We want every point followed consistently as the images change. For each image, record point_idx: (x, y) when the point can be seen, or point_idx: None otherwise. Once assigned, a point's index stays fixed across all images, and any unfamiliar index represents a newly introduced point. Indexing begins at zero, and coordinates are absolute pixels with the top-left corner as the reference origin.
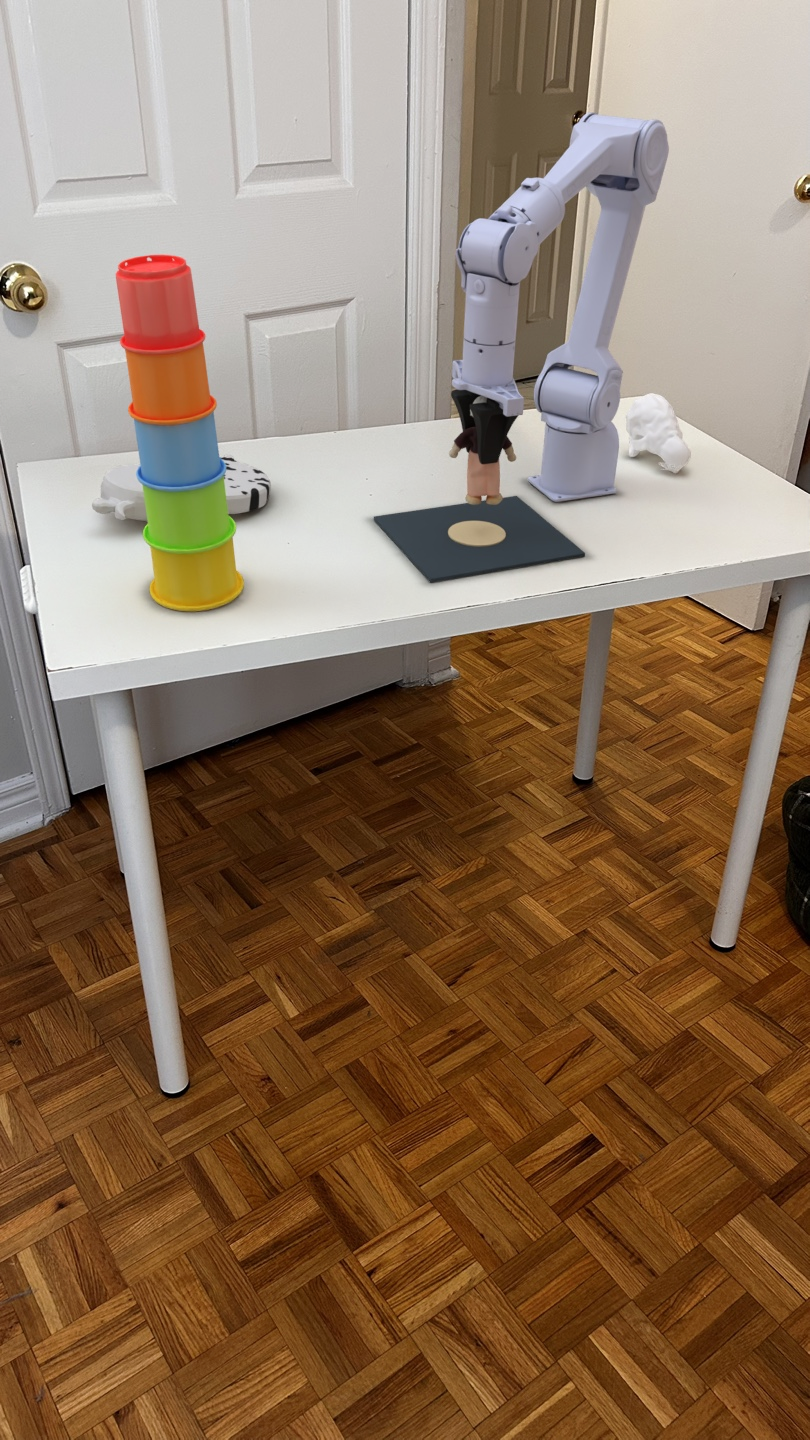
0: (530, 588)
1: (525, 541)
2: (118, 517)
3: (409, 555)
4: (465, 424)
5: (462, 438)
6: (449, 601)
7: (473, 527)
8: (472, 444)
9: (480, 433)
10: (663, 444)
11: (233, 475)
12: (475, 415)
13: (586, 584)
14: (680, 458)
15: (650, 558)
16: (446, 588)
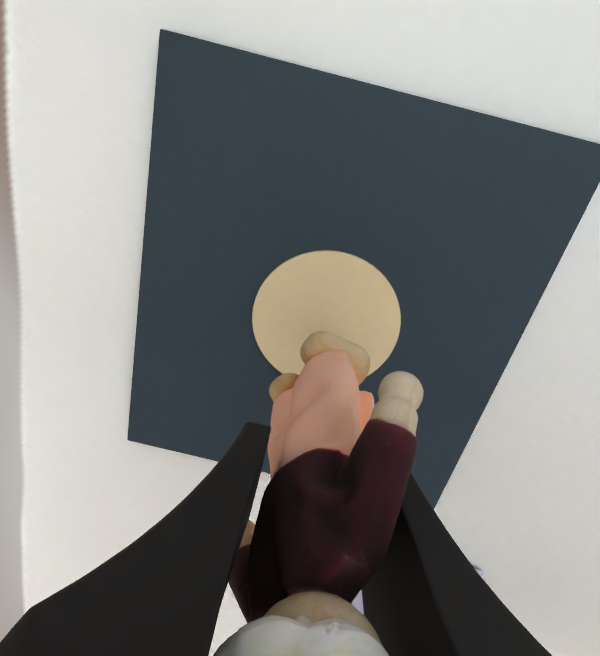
0: (43, 251)
1: (231, 384)
2: None
3: (323, 72)
4: (416, 558)
5: (365, 466)
6: (44, 8)
7: (355, 336)
8: (336, 478)
9: (175, 518)
10: None
11: None
12: (135, 621)
13: (22, 359)
14: None
15: (79, 510)
16: (118, 55)
